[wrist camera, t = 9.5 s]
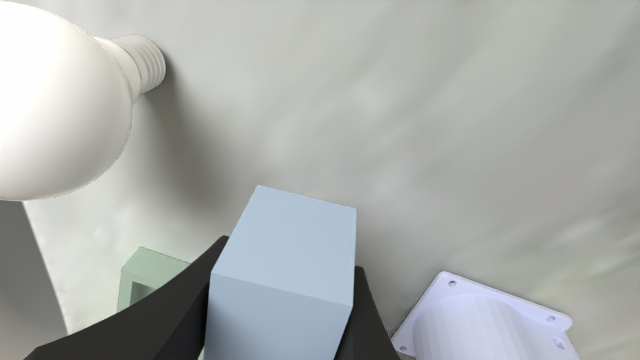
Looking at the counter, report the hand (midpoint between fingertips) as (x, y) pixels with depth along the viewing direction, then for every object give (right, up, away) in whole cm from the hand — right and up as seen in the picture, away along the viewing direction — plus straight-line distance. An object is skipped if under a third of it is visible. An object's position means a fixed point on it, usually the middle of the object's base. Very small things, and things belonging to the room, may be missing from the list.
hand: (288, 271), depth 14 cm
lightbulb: (-8, +10, +5) cm, 14 cm away
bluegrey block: (0, +1, +2) cm, 2 cm away
